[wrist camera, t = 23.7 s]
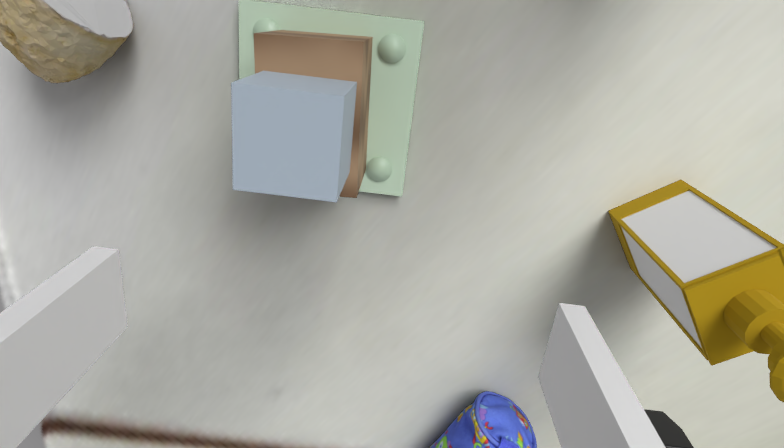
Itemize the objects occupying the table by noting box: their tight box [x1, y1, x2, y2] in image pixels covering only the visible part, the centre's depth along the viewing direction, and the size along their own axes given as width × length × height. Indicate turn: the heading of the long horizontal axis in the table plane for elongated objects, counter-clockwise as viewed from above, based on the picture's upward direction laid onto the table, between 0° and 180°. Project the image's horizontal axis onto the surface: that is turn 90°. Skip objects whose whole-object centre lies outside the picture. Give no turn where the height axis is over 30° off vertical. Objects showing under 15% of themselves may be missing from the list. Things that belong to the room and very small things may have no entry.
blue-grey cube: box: [231, 71, 357, 202], centre depth 35 cm, size 7×7×7 cm
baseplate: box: [239, 0, 424, 196], centre depth 46 cm, size 16×16×1 cm
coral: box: [0, 0, 134, 83], centre depth 41 cm, size 10×10×10 cm
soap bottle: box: [608, 180, 784, 402], centre depth 39 cm, size 7×13×24 cm, turn 28°
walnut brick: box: [254, 30, 373, 198], centre depth 42 cm, size 12×8×8 cm, turn 176°
